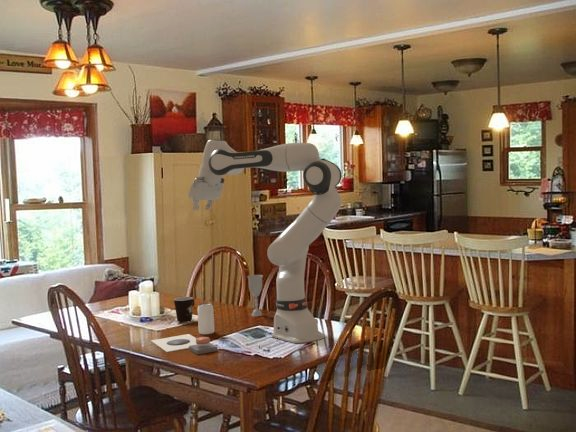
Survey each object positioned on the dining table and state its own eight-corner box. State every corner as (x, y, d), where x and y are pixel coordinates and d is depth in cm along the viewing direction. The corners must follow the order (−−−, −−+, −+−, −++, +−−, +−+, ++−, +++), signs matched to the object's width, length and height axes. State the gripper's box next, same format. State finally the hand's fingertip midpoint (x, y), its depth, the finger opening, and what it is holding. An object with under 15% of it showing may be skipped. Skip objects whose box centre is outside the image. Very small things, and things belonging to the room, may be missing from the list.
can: (211, 334, 257) (210, 305, 256) (196, 334, 258) (194, 305, 257) (216, 330, 263) (215, 302, 262) (201, 330, 265) (200, 302, 264)
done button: (211, 342, 233) (211, 338, 233) (198, 345, 231) (198, 341, 231) (206, 340, 238) (206, 336, 238) (194, 342, 235) (193, 338, 235)
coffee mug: (181, 323, 279) (179, 301, 278) (171, 320, 286) (170, 299, 285) (203, 319, 286) (202, 297, 286) (194, 316, 293) (192, 295, 292)
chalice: (261, 312, 294) (259, 274, 293) (267, 315, 288) (265, 276, 287) (246, 314, 291) (244, 276, 290) (252, 317, 285) (250, 277, 284)
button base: (217, 350, 233) (217, 346, 233) (196, 354, 229) (196, 350, 229) (209, 346, 240) (209, 342, 240) (189, 349, 236) (189, 345, 236)
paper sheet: (207, 345, 242) (207, 343, 242) (166, 352, 234) (166, 351, 234) (188, 334, 259) (188, 333, 259) (150, 341, 251) (150, 340, 251)
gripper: (202, 178, 251) (194, 212, 252) (227, 179, 269) (220, 211, 271) (188, 174, 253) (181, 208, 255) (214, 176, 272) (207, 207, 274)
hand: (201, 209), depth 263 cm, fingers open, 8 cm apart
